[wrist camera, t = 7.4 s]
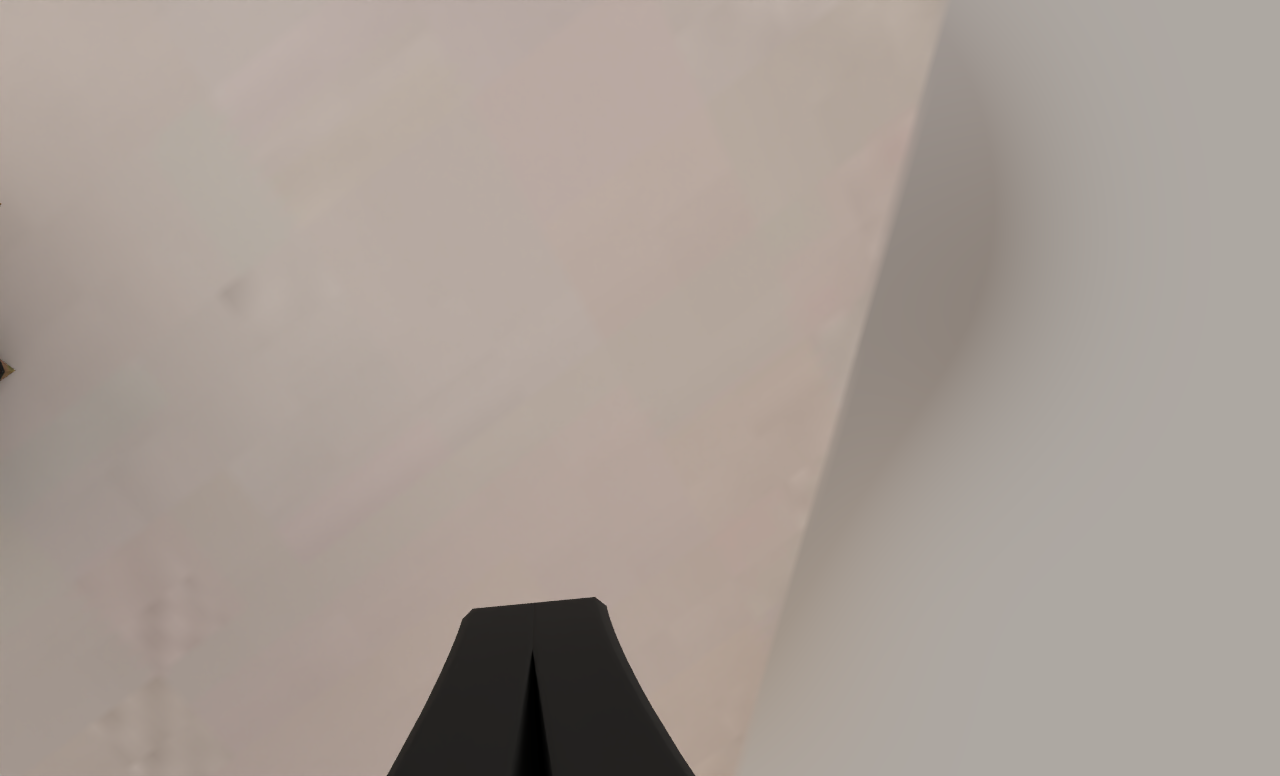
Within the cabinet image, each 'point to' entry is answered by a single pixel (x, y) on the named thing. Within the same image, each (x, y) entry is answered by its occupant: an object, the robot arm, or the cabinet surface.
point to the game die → (5, 367)
